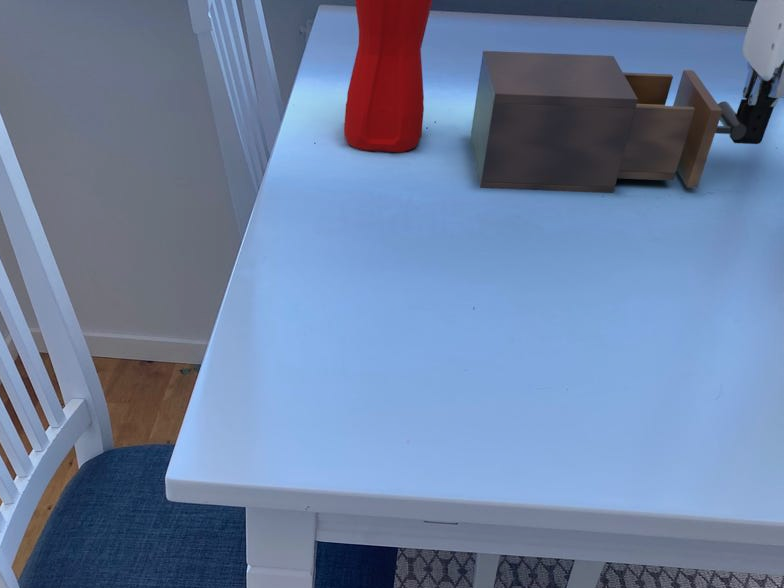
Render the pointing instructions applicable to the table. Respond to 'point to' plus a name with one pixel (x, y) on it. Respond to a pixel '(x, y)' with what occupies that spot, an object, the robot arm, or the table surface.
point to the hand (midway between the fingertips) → (744, 140)
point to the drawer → (674, 128)
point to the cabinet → (550, 121)
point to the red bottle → (387, 76)
